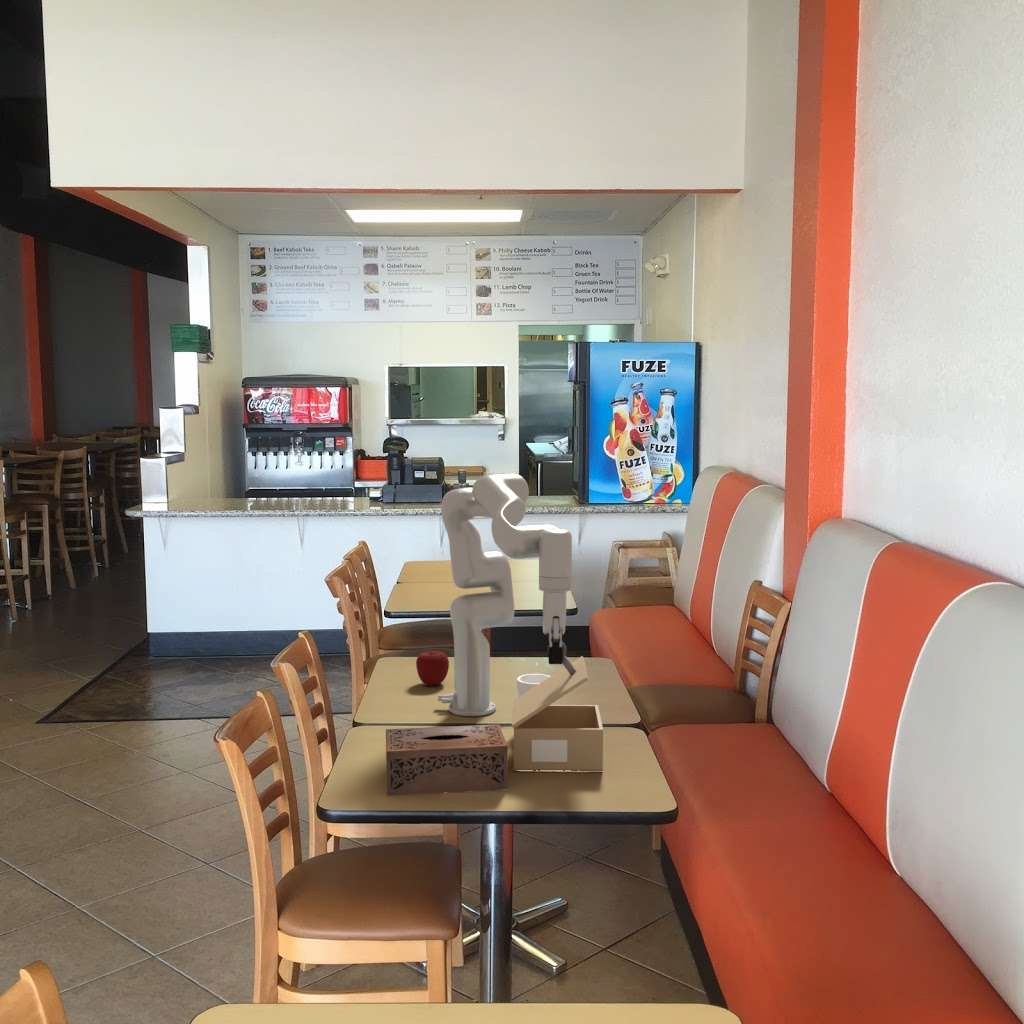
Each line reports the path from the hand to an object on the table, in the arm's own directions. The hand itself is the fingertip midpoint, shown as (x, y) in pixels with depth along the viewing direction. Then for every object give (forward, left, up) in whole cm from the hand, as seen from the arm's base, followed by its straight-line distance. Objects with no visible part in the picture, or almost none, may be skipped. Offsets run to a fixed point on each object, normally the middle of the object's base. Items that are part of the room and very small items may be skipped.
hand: (555, 660), depth 235 cm
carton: (+1, 0, -23) cm, 23 cm away
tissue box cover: (-24, -14, -24) cm, 37 cm away
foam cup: (-4, +21, -24) cm, 32 cm away
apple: (-34, +60, -24) cm, 73 cm away
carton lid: (-1, 0, -8) cm, 8 cm away
